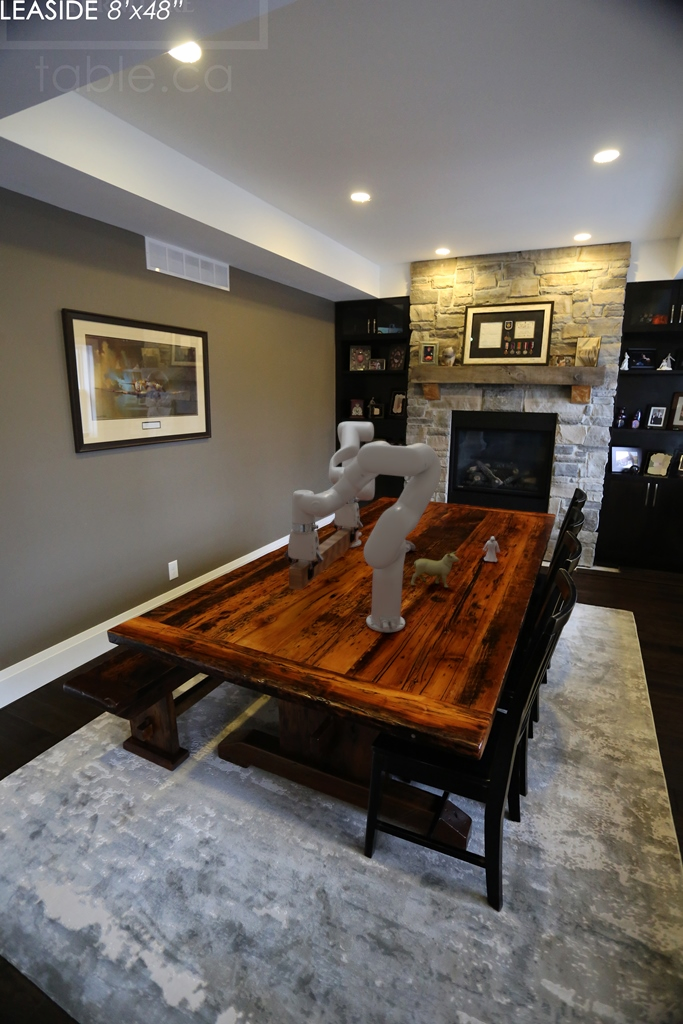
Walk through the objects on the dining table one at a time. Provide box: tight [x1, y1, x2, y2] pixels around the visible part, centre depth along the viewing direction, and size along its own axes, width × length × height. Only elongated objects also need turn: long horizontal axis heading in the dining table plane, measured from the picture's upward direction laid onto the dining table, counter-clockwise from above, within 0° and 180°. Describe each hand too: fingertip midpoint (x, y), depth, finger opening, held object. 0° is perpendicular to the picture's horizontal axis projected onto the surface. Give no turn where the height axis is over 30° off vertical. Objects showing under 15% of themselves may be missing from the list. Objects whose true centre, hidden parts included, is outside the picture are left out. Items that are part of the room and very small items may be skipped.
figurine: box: [482, 535, 501, 563], centre depth 223 cm, size 8×8×12 cm
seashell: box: [405, 539, 417, 553], centre depth 234 cm, size 8×5×8 cm
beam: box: [288, 526, 357, 591], centre depth 193 cm, size 59×4×7 cm, turn 160°
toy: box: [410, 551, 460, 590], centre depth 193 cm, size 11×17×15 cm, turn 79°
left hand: (346, 540), depth 214 cm, fingers closed on beam, 4 cm apart
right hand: (303, 577), depth 173 cm, fingers closed on beam, 4 cm apart
